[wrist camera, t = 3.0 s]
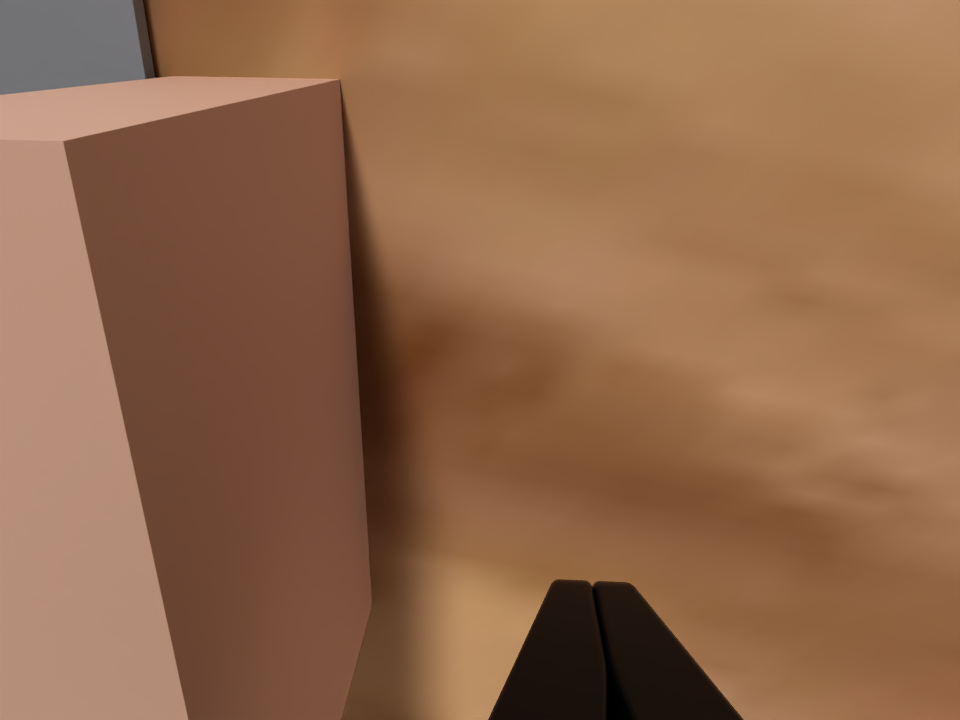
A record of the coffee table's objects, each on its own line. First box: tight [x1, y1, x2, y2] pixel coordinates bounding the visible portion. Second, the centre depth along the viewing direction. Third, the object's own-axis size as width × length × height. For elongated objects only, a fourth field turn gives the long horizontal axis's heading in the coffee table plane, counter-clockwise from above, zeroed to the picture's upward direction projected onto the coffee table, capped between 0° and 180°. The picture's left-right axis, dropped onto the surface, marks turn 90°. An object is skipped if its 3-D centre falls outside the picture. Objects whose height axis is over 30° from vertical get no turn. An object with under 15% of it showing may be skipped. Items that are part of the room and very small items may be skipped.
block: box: [0, 76, 372, 720], centre depth 10 cm, size 2×10×7 cm, turn 179°
